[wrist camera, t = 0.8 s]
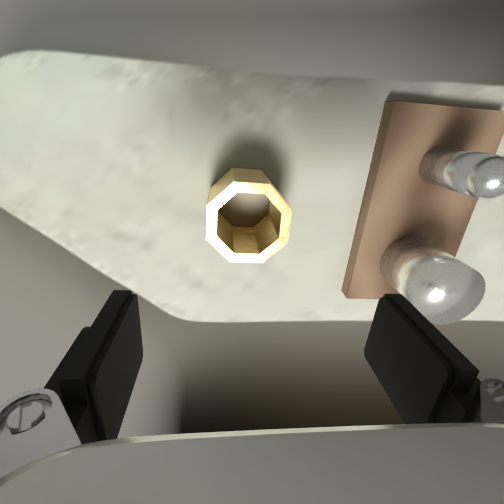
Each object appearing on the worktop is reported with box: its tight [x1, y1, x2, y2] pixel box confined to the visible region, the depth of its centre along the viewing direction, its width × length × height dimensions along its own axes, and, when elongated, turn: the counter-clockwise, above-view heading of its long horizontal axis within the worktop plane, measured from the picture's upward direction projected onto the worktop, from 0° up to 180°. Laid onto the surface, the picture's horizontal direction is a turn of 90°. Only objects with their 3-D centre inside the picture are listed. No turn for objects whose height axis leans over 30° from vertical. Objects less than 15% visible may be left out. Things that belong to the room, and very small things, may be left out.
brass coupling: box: [206, 167, 292, 263], centre depth 24 cm, size 6×6×6 cm
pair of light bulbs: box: [380, 147, 504, 324], centre depth 24 cm, size 5×13×7 cm, turn 176°
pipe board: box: [342, 101, 504, 299], centre depth 28 cm, size 10×18×2 cm, turn 176°
